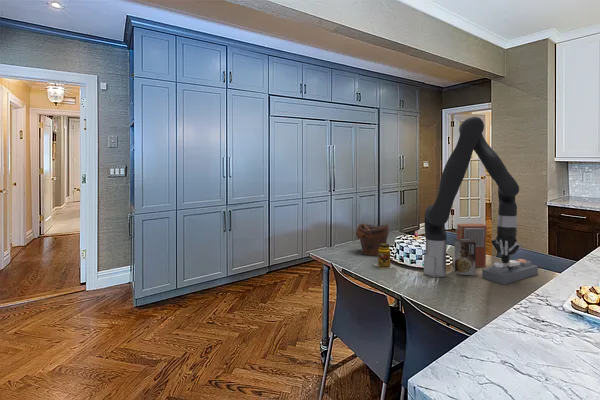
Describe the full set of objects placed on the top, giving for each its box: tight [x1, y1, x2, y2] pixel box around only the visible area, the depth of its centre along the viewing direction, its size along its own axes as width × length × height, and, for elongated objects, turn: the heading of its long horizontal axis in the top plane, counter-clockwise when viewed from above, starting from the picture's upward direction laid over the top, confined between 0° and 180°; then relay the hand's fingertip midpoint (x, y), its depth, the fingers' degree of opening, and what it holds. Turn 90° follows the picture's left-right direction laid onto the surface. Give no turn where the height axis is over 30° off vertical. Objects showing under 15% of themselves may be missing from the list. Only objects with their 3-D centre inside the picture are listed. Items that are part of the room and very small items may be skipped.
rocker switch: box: [500, 259, 520, 267], centre depth 155 cm, size 8×4×2 cm, turn 118°
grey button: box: [493, 261, 504, 269], centre depth 151 cm, size 4×4×2 cm
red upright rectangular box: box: [454, 223, 488, 268], centre depth 172 cm, size 21×7×15 cm
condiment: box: [373, 242, 394, 270], centre depth 176 cm, size 7×8×12 cm
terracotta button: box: [518, 258, 528, 263], centre depth 159 cm, size 4×4×2 cm
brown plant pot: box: [355, 223, 390, 256], centre depth 202 cm, size 18×20×18 cm
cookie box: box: [454, 238, 477, 276], centre depth 161 cm, size 9×6×16 cm
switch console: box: [481, 258, 539, 285], centre depth 155 cm, size 26×10×6 cm, turn 118°
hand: (505, 262), depth 153 cm, fingers closed
